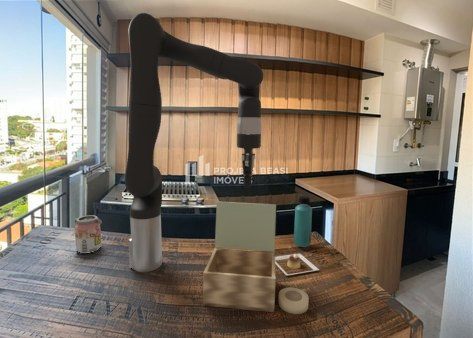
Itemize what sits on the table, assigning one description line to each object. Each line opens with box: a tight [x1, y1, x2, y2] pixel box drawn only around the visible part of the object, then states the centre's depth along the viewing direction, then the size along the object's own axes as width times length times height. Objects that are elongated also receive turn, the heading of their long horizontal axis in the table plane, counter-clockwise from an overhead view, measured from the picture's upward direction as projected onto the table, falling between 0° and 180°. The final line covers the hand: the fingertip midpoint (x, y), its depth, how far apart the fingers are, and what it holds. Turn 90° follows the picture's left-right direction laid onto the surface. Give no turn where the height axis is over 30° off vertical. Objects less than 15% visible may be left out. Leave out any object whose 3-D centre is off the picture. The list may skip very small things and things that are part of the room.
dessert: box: [275, 253, 320, 276], centre depth 91 cm, size 12×12×5 cm
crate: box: [202, 247, 276, 313], centre depth 75 cm, size 18×14×9 cm
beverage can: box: [74, 214, 103, 253], centre depth 99 cm, size 9×8×12 cm
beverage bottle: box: [293, 195, 313, 248], centre depth 103 cm, size 6×7×20 cm
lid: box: [214, 201, 277, 253], centre depth 81 cm, size 18×14×1 cm
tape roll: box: [278, 286, 310, 315], centre depth 71 cm, size 8×8×2 cm
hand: (247, 186), depth 87 cm, fingers closed
